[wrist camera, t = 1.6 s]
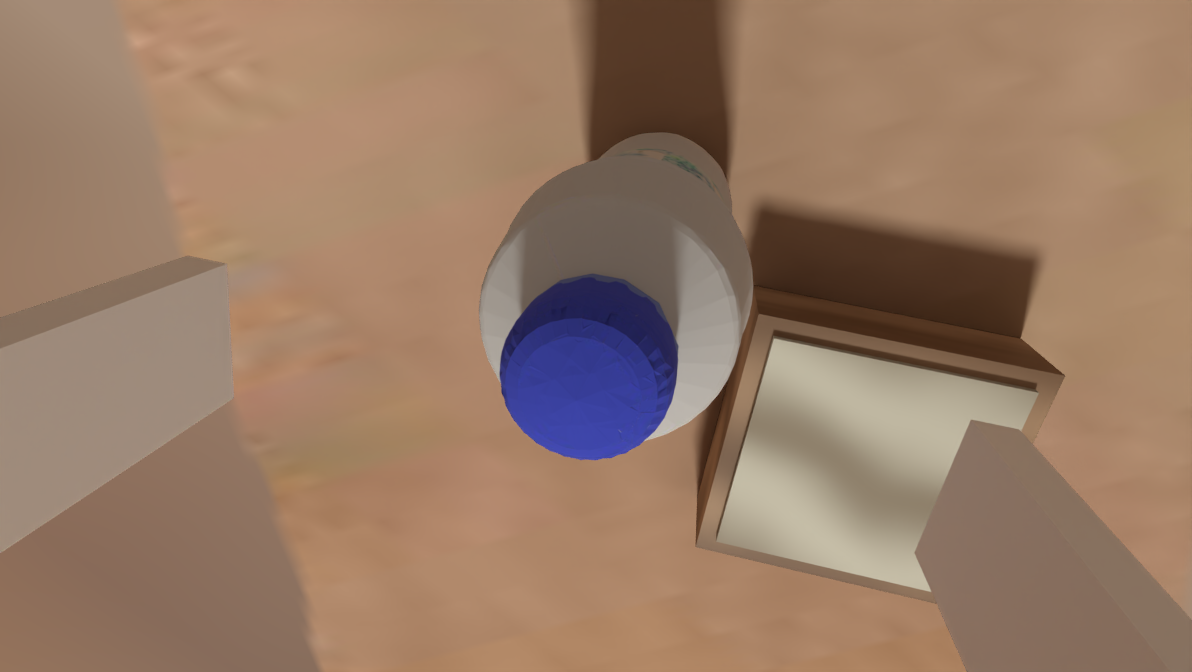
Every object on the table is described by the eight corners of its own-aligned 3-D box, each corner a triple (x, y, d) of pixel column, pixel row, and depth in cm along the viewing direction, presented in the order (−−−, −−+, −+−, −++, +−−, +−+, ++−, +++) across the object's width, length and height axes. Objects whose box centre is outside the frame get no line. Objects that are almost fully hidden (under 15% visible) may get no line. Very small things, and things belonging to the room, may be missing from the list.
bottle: (709, 288, 31) (709, 595, 13) (572, 252, 31) (377, 497, 13) (754, 144, 28) (836, 266, 10) (604, 106, 29) (417, 156, 10)
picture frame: (753, 285, 31) (759, 316, 27) (1021, 338, 30) (1069, 379, 26) (697, 498, 35) (695, 550, 31) (927, 550, 34) (955, 612, 30)
